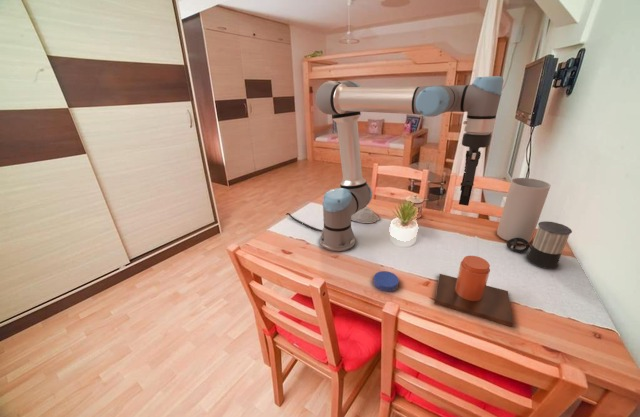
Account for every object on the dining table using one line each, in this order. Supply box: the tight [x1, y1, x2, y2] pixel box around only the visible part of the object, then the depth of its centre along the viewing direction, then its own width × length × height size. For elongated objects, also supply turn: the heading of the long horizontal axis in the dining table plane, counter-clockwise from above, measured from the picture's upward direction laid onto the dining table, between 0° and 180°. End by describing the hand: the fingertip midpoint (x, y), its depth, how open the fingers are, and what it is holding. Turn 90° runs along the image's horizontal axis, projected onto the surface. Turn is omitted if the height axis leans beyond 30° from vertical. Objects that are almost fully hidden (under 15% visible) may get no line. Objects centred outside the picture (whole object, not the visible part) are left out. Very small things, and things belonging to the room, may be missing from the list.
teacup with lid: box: [404, 193, 425, 219], centre depth 136 cm, size 12×9×12 cm
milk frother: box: [505, 220, 573, 270], centre depth 98 cm, size 14×16×15 cm
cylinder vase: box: [496, 177, 551, 245], centre depth 109 cm, size 12×12×25 cm
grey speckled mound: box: [351, 205, 380, 224], centre depth 138 cm, size 16×25×7 cm, turn 47°
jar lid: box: [373, 270, 400, 292], centre depth 90 cm, size 8×8×2 cm
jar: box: [455, 255, 491, 301], centre depth 81 cm, size 8×8×12 cm
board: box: [434, 273, 514, 327], centre depth 82 cm, size 20×14×2 cm
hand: (464, 197), depth 89 cm, fingers open, 13 cm apart
